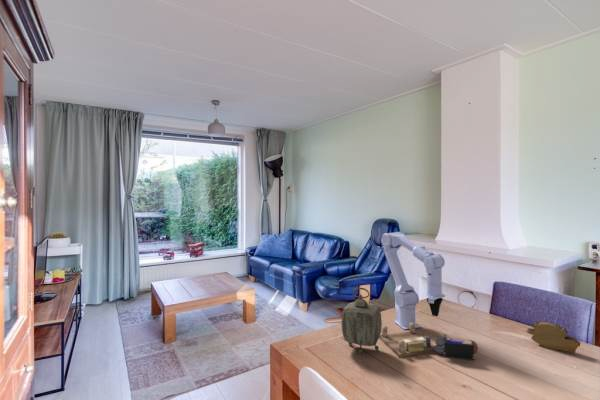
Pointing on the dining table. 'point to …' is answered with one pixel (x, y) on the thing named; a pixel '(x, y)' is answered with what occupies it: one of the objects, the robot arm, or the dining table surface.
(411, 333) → the stool seat
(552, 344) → the wooden carving
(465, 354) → the character figurine
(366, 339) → the green bag
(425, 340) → the leg bar
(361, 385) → the dining table surface
